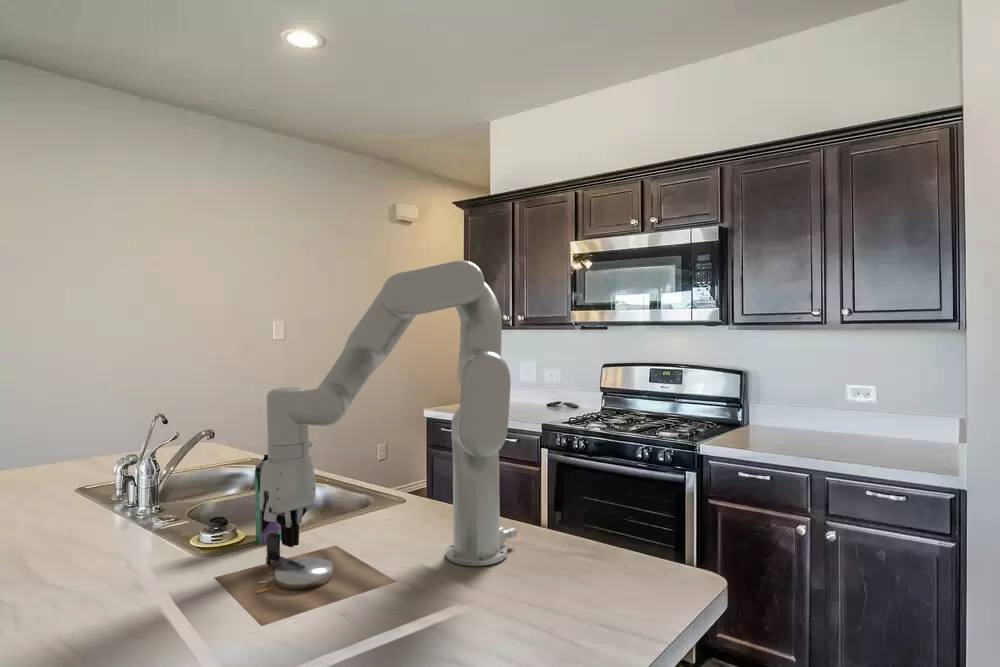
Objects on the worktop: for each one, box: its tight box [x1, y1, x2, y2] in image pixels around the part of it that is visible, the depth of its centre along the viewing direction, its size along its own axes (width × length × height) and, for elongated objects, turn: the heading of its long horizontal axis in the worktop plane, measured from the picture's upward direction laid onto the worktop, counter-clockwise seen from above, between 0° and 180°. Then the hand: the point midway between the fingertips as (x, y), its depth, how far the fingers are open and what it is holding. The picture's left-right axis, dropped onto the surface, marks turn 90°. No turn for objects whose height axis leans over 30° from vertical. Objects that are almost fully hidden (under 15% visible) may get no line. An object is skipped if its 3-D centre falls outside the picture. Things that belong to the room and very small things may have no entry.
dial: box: [265, 533, 333, 590], centre depth 113 cm, size 16×10×6 cm, turn 52°
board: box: [214, 545, 397, 627], centre depth 111 cm, size 24×24×2 cm
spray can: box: [254, 454, 282, 545], centre depth 132 cm, size 6×6×20 cm
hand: (290, 544), depth 119 cm, fingers closed
